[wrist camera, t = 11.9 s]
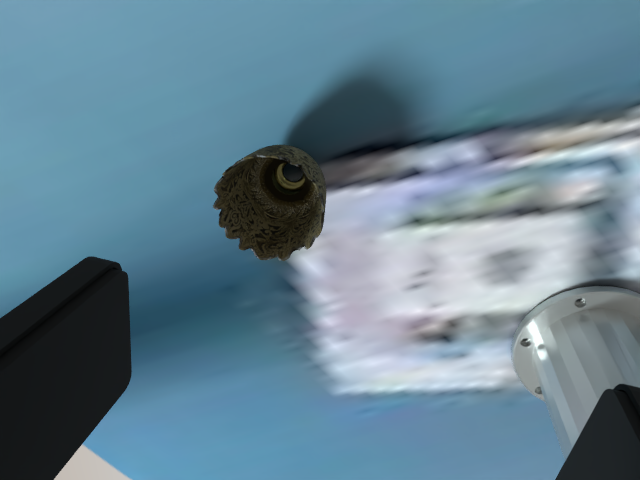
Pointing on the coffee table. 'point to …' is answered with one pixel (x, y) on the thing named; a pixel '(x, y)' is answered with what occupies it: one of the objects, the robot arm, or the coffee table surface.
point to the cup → (272, 202)
